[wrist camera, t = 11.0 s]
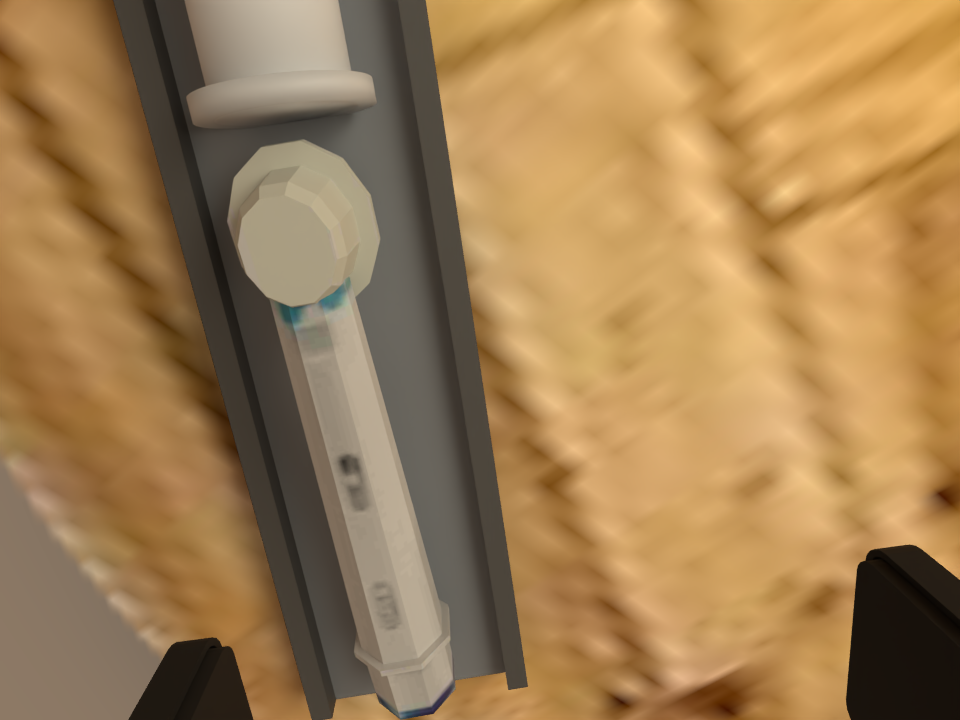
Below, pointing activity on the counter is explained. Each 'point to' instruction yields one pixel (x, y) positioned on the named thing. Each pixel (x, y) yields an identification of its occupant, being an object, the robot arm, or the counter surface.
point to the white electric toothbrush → (345, 407)
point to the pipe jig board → (382, 303)
